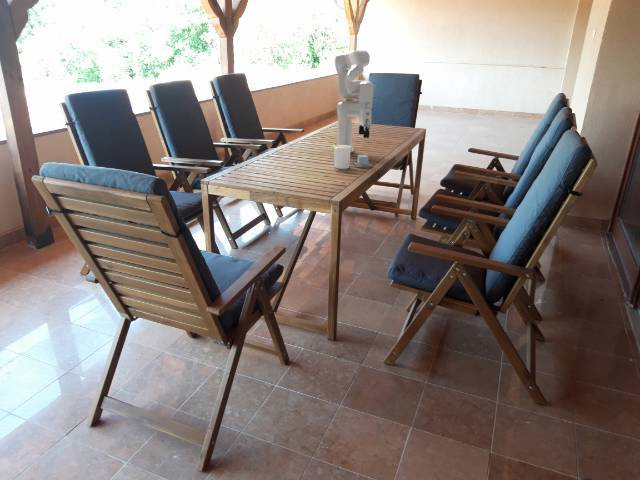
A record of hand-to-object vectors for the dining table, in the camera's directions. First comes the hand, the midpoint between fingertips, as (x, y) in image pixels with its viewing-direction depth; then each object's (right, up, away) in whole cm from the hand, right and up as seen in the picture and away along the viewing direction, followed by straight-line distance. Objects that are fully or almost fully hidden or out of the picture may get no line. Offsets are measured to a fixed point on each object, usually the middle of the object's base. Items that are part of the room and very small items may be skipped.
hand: (363, 135), depth 274 cm
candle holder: (-12, -18, +2) cm, 22 cm away
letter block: (0, -15, +6) cm, 17 cm away
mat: (0, -16, +6) cm, 17 cm away
